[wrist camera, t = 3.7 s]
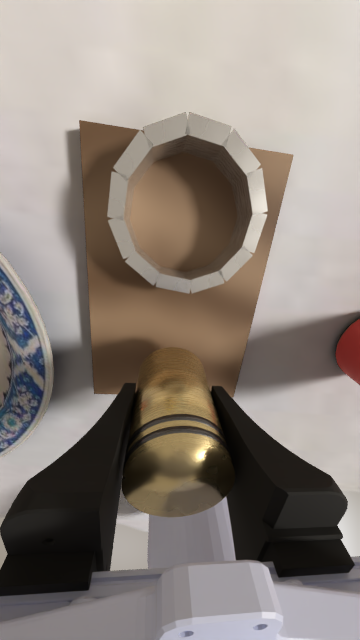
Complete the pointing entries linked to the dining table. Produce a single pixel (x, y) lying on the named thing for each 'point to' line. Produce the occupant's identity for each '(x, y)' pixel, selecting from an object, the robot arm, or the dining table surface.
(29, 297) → the ceramic plate
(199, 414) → the piston
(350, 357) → the beer can
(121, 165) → the ring collar
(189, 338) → the walnut board
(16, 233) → the dining table surface
